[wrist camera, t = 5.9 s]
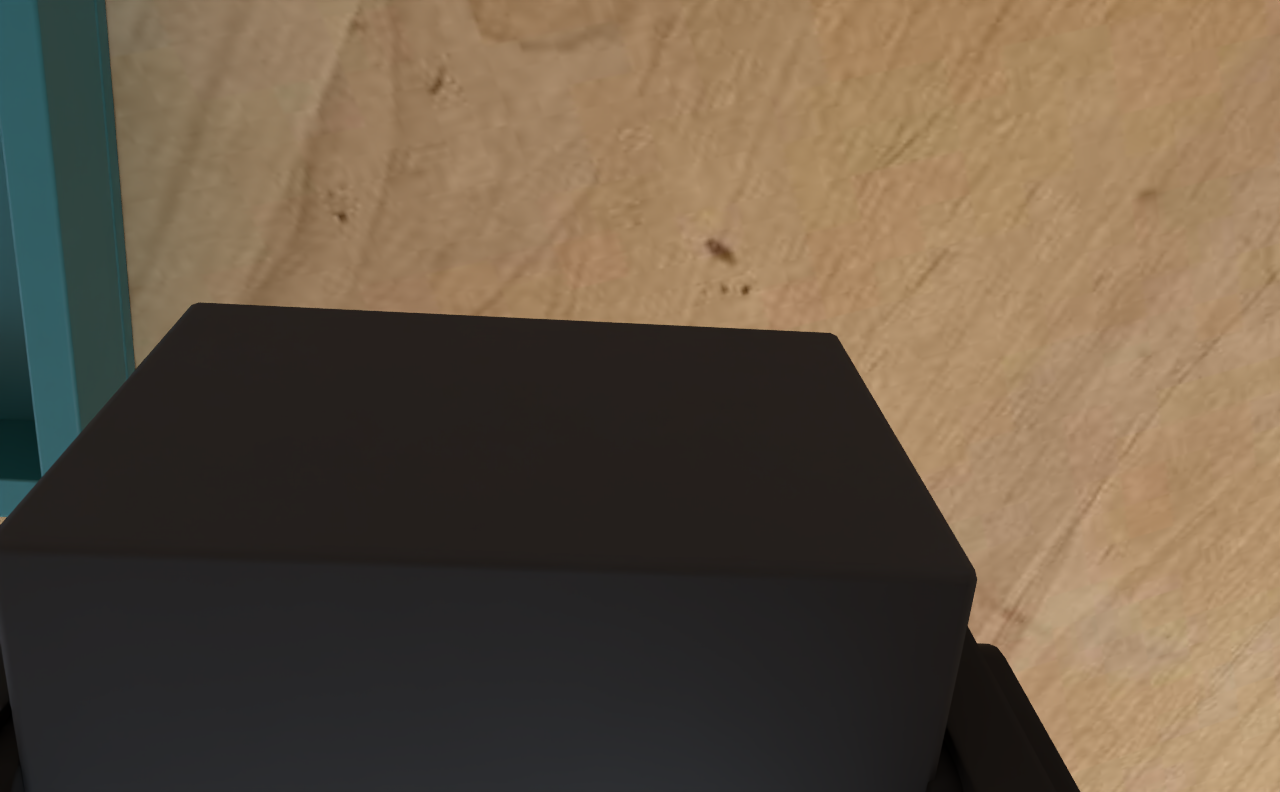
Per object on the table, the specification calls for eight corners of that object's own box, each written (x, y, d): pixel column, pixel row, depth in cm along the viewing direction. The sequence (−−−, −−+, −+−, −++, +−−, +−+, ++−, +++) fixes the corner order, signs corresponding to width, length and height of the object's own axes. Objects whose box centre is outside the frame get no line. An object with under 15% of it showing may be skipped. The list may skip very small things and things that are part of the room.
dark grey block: (191, 297, 10) (-25, 541, 6) (838, 329, 10) (983, 573, 7) (234, 850, 12) (96, 1260, 9) (761, 857, 13) (840, 1248, 9)
